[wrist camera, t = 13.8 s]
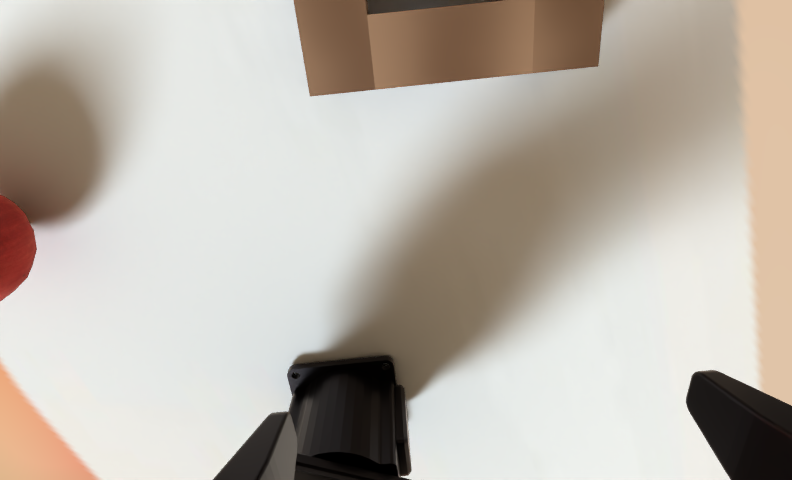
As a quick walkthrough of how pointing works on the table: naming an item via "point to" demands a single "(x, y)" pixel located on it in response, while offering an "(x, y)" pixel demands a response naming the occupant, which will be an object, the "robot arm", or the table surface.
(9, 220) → the onion
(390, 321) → the table surface
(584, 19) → the block
